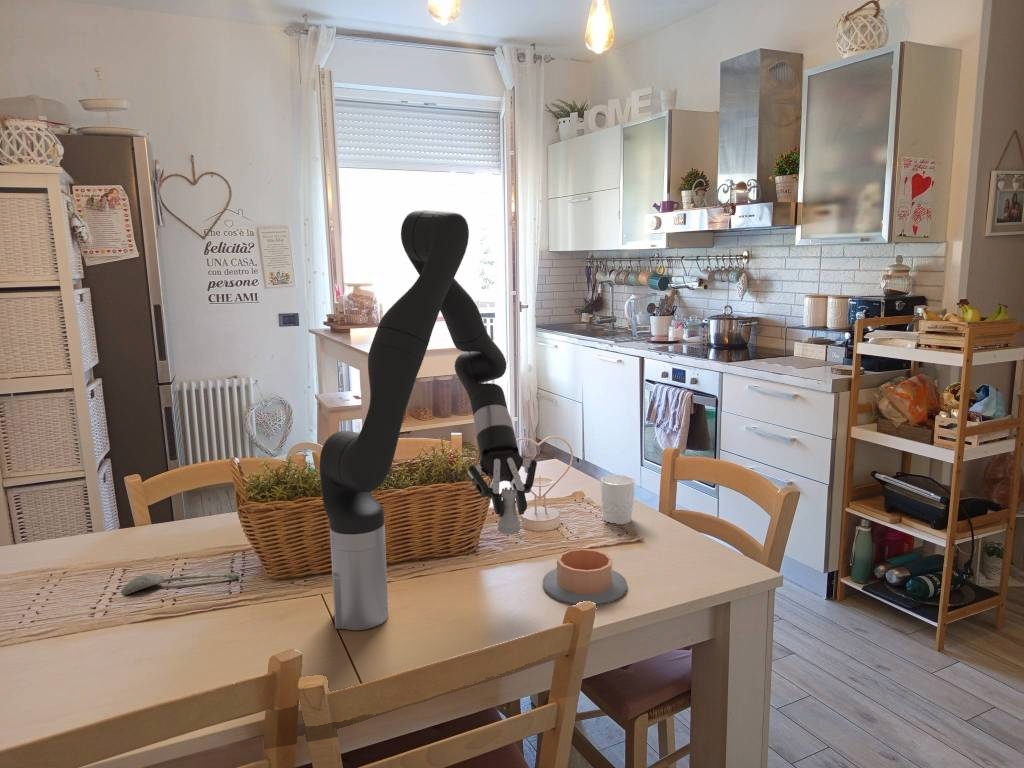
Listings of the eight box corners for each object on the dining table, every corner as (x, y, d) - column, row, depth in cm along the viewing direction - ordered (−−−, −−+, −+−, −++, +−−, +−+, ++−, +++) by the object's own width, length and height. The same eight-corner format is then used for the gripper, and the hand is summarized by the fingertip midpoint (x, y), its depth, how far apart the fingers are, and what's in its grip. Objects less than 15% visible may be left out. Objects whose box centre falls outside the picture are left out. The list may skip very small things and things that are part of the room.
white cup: (633, 526, 169) (634, 485, 167) (599, 524, 171) (599, 483, 169) (634, 515, 177) (635, 475, 175) (601, 513, 178) (602, 473, 176)
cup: (558, 610, 129) (558, 582, 128) (532, 573, 145) (532, 548, 144) (640, 599, 133) (641, 571, 132) (607, 564, 149) (607, 539, 148)
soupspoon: (127, 587, 143) (116, 604, 137) (124, 571, 142) (113, 587, 136) (244, 573, 147) (238, 589, 140) (242, 558, 146) (236, 573, 140)
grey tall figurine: (513, 536, 132) (512, 494, 131) (492, 532, 135) (491, 490, 133) (525, 528, 136) (525, 487, 135) (505, 524, 138) (504, 484, 137)
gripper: (462, 426, 137) (477, 509, 128) (533, 420, 141) (553, 501, 132) (457, 446, 143) (471, 526, 134) (525, 440, 147) (544, 518, 138)
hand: (512, 513), depth 133 cm, fingers closed on grey tall figurine, 3 cm apart
